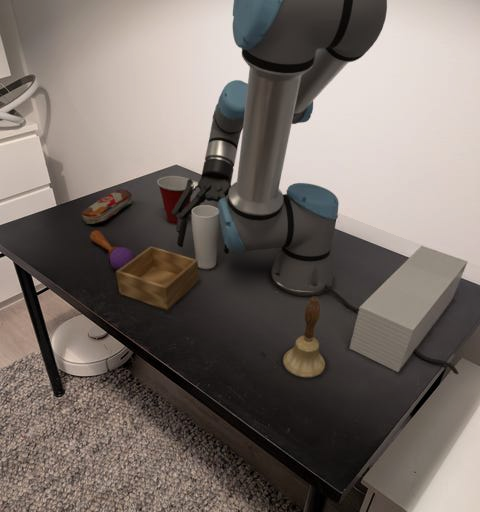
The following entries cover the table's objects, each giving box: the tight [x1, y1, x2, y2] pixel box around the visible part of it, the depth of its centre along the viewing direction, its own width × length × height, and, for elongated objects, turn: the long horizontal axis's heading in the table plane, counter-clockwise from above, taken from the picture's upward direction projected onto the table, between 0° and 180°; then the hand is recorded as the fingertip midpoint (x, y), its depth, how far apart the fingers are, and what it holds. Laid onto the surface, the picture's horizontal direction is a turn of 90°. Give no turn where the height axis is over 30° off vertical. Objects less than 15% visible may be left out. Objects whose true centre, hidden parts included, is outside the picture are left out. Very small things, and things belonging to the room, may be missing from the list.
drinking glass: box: [190, 204, 221, 270], centre depth 112 cm, size 7×7×15 cm
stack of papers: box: [349, 245, 468, 373], centre depth 98 cm, size 32×11×11 cm, turn 141°
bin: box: [115, 245, 199, 311], centre depth 106 cm, size 13×13×6 cm
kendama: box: [89, 230, 135, 271], centre depth 117 cm, size 6×6×20 cm
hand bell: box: [282, 296, 326, 379], centre depth 85 cm, size 8×8×16 cm
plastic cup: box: [156, 175, 194, 225], centre depth 133 cm, size 11×11×12 cm
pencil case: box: [80, 188, 133, 225], centre depth 136 cm, size 11×20×5 cm, turn 145°
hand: (202, 249), depth 111 cm, fingers open, 11 cm apart
